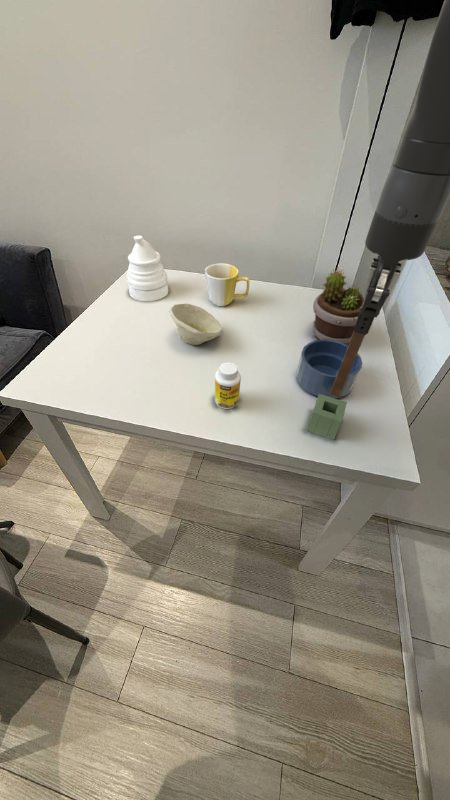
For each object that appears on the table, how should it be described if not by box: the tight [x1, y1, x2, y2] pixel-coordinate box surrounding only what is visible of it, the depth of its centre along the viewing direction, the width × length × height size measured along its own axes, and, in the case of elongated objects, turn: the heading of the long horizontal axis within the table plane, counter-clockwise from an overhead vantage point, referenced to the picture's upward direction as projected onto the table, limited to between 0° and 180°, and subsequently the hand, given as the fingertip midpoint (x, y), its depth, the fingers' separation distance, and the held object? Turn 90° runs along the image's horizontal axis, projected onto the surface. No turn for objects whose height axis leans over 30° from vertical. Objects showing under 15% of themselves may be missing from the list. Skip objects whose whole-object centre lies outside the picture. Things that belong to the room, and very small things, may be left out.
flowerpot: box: [312, 266, 364, 345], centre depth 88 cm, size 14×15×20 cm
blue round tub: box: [295, 339, 363, 399], centre depth 79 cm, size 14×14×8 cm
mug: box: [204, 262, 250, 307], centre depth 102 cm, size 14×10×10 cm
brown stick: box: [330, 332, 366, 398], centre depth 57 cm, size 2×2×20 cm
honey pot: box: [126, 235, 169, 302], centre depth 103 cm, size 13×13×18 cm
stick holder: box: [306, 394, 348, 440], centre depth 69 cm, size 6×6×6 cm
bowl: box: [168, 303, 224, 346], centre depth 88 cm, size 15×14×10 cm
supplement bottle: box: [214, 361, 242, 410], centre depth 72 cm, size 6×6×10 cm
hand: (361, 328), depth 53 cm, fingers closed on brown stick, 2 cm apart
